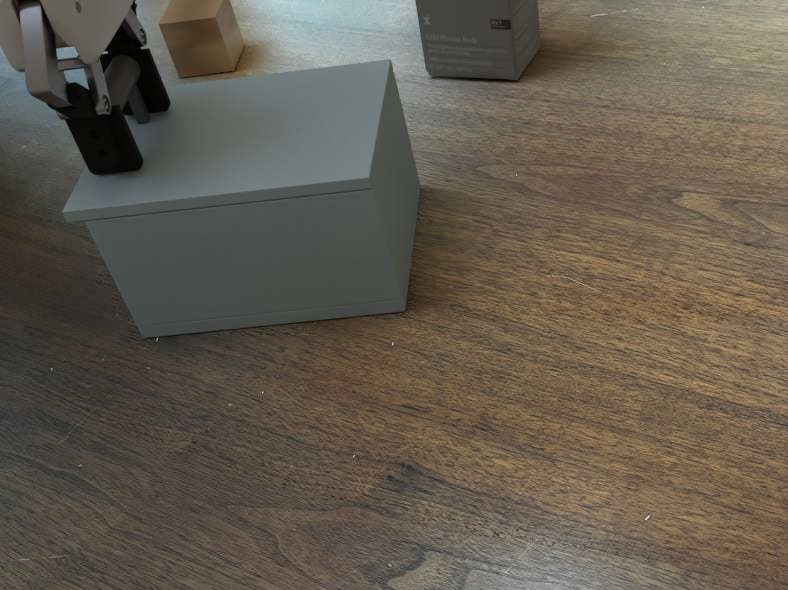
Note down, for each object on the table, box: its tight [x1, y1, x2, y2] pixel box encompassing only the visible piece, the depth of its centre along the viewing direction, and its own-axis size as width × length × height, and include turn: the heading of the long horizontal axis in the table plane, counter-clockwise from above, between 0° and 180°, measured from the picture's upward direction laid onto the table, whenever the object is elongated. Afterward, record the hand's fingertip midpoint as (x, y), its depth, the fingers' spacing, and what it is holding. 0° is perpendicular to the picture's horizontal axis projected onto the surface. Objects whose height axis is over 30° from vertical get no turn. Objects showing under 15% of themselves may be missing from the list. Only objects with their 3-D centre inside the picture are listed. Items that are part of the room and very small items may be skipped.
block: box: [158, 0, 245, 79], centre depth 95 cm, size 5×5×5 cm
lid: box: [61, 55, 394, 223], centre depth 65 cm, size 18×14×5 cm
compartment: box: [84, 71, 422, 339], centre depth 70 cm, size 17×14×9 cm
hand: (132, 137), depth 67 cm, fingers closed on lid, 6 cm apart
